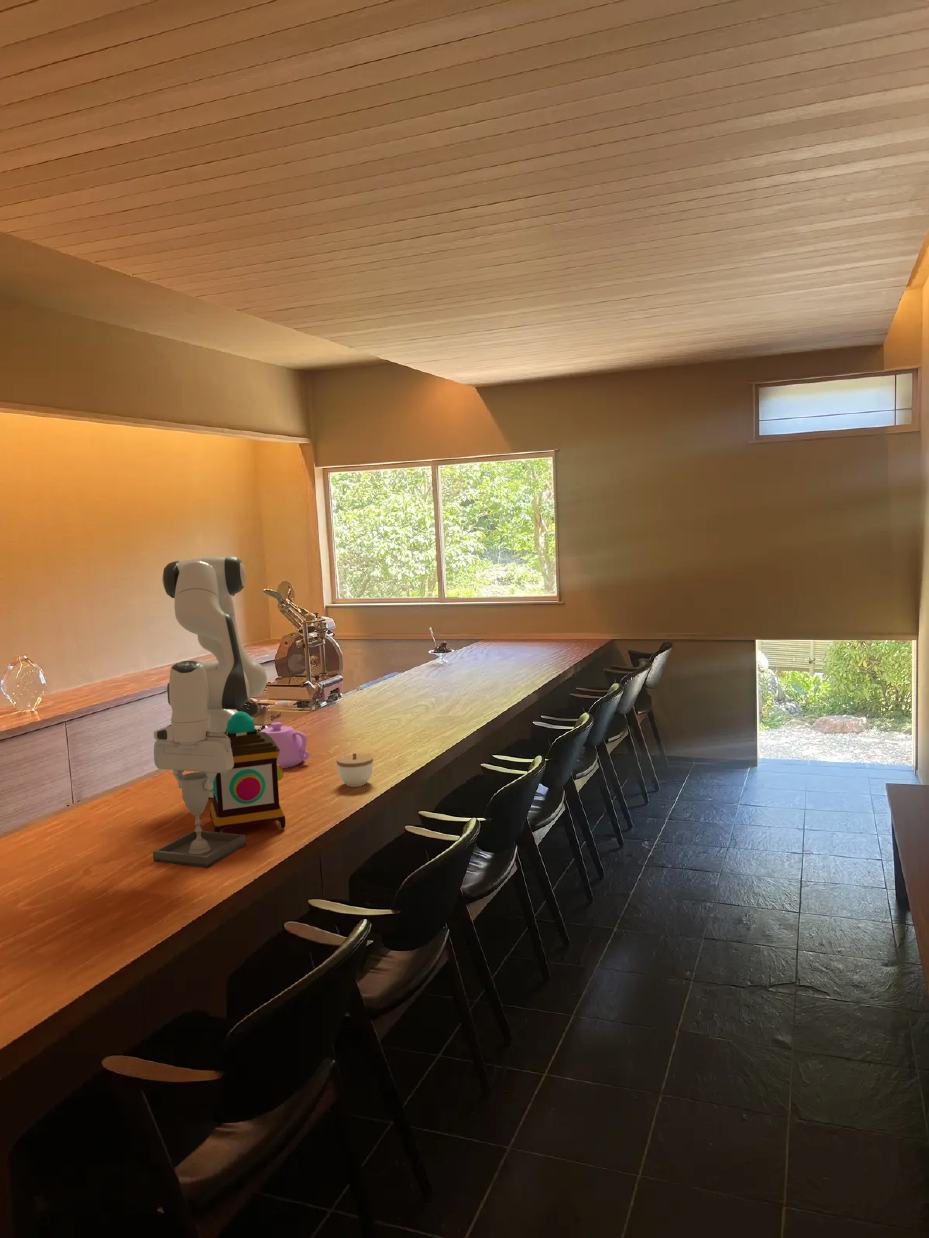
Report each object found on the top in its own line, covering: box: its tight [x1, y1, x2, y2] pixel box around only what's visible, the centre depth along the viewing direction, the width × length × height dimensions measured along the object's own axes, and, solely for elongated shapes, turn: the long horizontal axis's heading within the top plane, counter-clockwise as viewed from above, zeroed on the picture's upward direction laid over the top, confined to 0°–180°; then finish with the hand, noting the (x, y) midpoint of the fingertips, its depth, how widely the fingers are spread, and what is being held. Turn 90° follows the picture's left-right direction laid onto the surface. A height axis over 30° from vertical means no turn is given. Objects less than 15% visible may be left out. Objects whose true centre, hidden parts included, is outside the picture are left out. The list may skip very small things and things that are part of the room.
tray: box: [152, 829, 247, 869], centre depth 204 cm, size 15×15×2 cm
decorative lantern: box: [209, 710, 286, 833], centre depth 222 cm, size 20×20×30 cm
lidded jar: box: [336, 752, 374, 788], centre depth 257 cm, size 11×11×9 cm
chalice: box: [179, 771, 211, 854], centre depth 203 cm, size 7×7×18 cm
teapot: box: [259, 721, 311, 770], centre depth 285 cm, size 25×18×14 cm
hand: (195, 788), depth 203 cm, fingers closed on chalice, 6 cm apart
